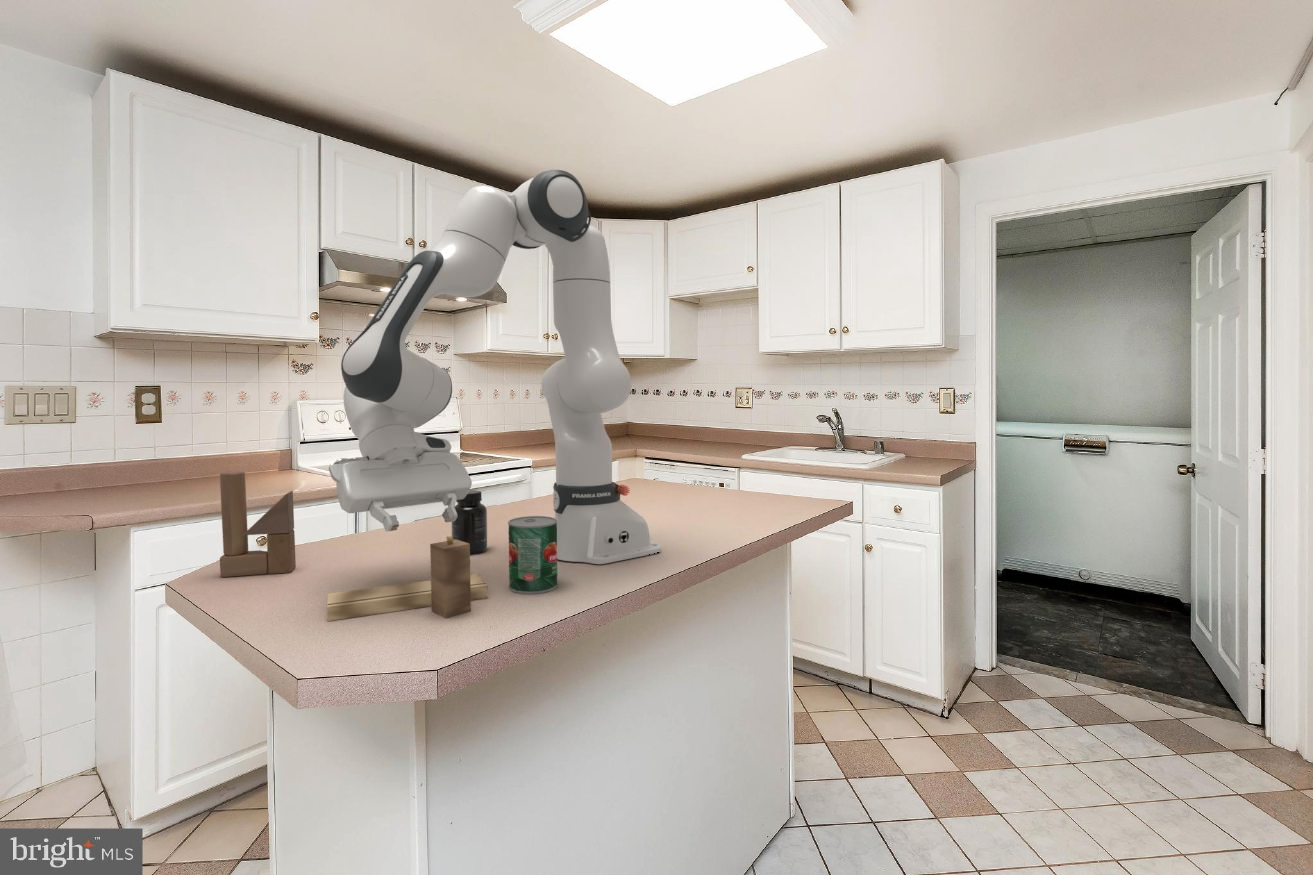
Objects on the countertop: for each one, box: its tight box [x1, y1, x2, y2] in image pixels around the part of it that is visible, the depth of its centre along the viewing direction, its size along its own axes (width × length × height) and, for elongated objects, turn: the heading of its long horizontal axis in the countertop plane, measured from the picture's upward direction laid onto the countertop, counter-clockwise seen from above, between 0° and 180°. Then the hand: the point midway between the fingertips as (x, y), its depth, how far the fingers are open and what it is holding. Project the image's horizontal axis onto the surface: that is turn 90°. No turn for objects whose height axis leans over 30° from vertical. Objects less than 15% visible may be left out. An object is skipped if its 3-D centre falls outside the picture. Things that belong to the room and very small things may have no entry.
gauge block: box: [429, 535, 472, 619], centre depth 90 cm, size 4×4×11 cm
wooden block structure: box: [219, 470, 297, 578], centre depth 108 cm, size 4×11×18 cm, turn 107°
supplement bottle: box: [450, 489, 488, 556], centre depth 124 cm, size 7×7×12 cm
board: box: [326, 574, 489, 622], centre depth 94 cm, size 22×6×2 cm, turn 117°
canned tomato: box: [507, 515, 559, 595], centre depth 101 cm, size 8×8×11 cm
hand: (423, 524), depth 94 cm, fingers open, 8 cm apart
